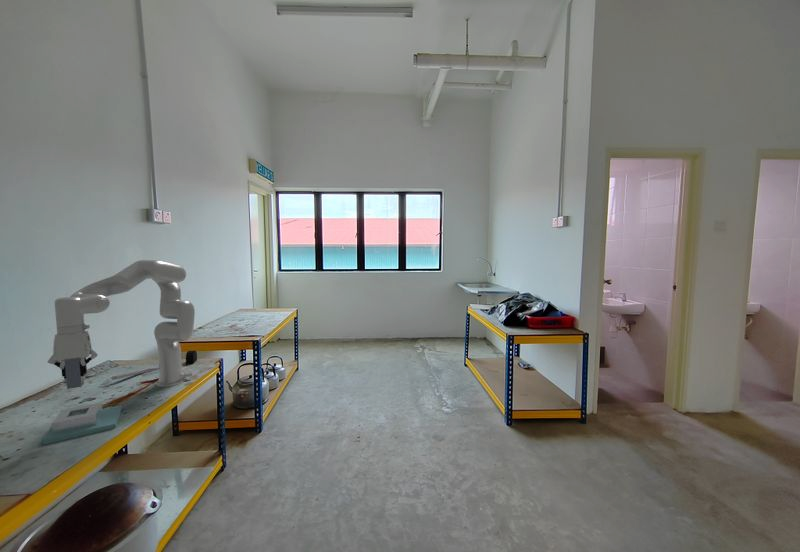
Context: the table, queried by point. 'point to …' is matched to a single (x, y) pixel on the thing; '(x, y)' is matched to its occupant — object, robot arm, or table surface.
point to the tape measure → (191, 357)
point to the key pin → (73, 373)
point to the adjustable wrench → (134, 372)
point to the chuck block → (82, 422)
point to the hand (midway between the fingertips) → (74, 376)
